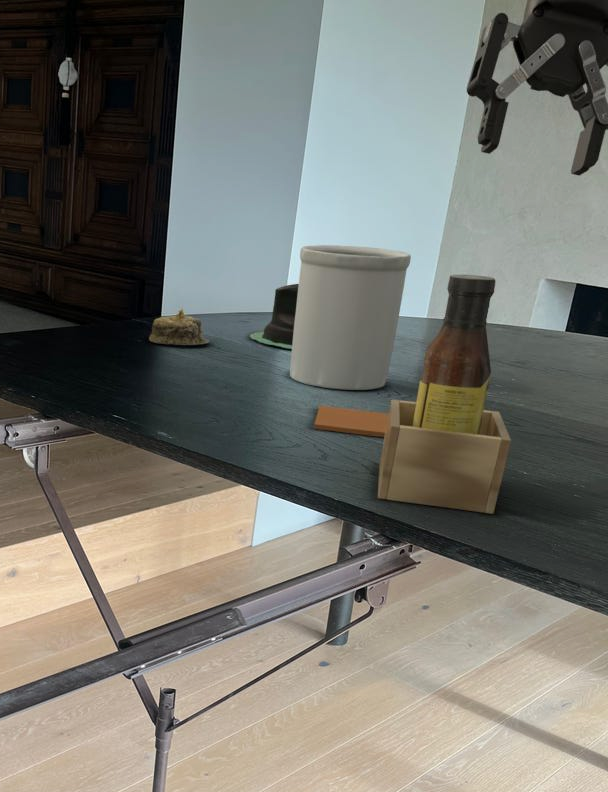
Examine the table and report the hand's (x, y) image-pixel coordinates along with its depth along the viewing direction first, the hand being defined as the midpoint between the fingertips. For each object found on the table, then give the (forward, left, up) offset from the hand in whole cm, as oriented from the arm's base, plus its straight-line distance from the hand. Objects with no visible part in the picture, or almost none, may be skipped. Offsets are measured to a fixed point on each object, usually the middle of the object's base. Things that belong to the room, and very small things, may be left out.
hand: (534, 161), depth 87 cm
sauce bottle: (+3, +3, -30) cm, 30 cm away
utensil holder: (+15, -45, -30) cm, 56 cm away
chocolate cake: (+21, -74, -30) cm, 82 cm away
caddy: (+3, +3, -29) cm, 30 cm away
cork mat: (+11, -20, -29) cm, 37 cm away
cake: (+41, -61, -30) cm, 79 cm away
